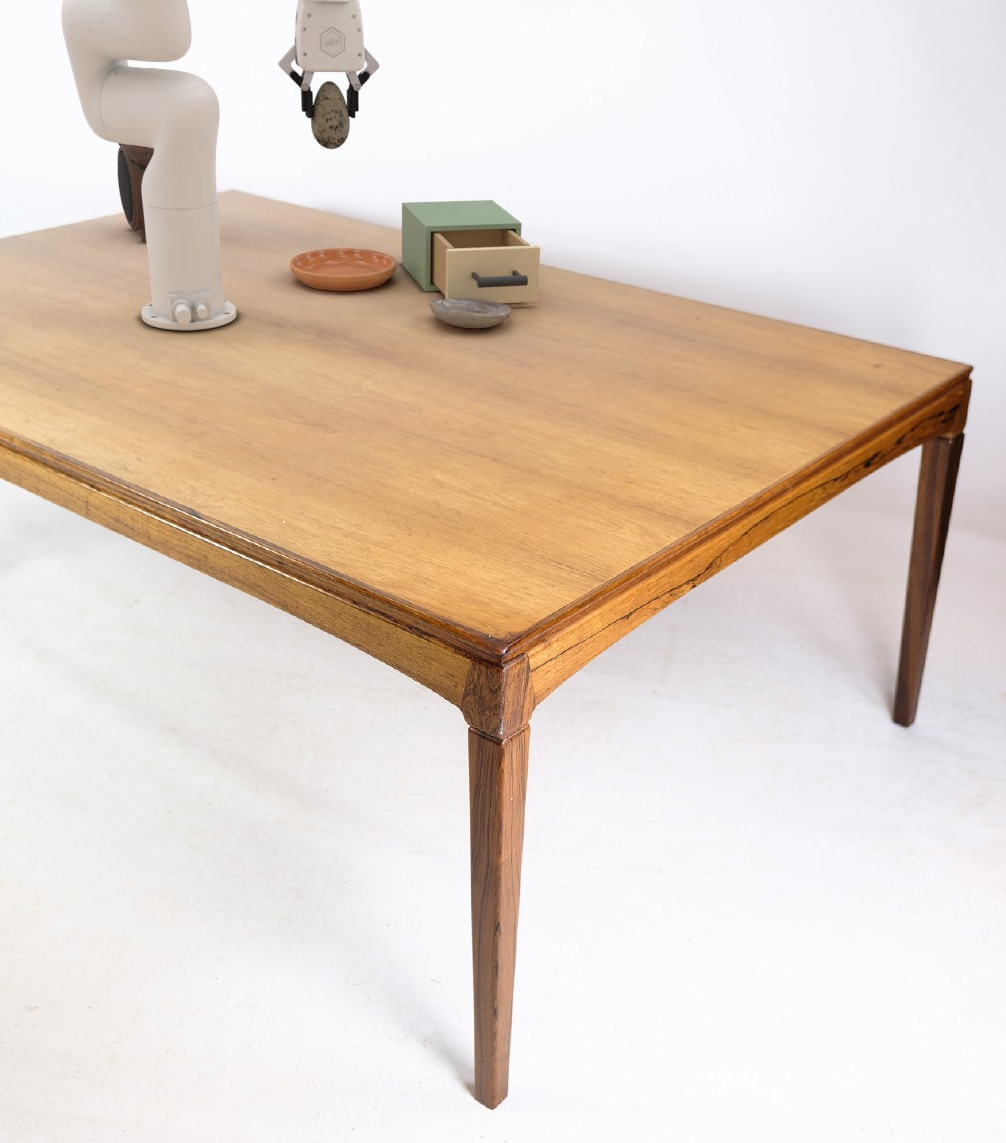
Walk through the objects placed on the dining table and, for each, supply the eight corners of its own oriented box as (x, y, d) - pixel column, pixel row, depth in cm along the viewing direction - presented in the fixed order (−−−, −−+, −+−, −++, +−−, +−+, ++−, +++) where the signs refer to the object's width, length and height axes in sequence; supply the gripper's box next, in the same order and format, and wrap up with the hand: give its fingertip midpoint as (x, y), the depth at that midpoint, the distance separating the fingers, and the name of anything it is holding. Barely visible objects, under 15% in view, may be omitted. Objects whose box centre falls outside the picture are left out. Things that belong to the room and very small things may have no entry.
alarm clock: (117, 227, 219) (104, 103, 210) (160, 224, 222) (149, 101, 212) (134, 247, 207) (121, 117, 198) (179, 244, 210) (168, 115, 201)
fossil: (472, 313, 185) (473, 293, 184) (523, 330, 177) (525, 310, 176) (412, 318, 179) (413, 298, 178) (463, 336, 171) (465, 315, 170)
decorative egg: (357, 149, 203) (357, 82, 198) (330, 153, 198) (329, 84, 194) (330, 144, 206) (329, 77, 201) (303, 148, 202) (301, 80, 197)
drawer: (548, 311, 181) (551, 256, 178) (456, 316, 178) (457, 260, 174) (508, 274, 198) (510, 223, 194) (423, 278, 194) (423, 226, 190)
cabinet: (519, 287, 195) (521, 223, 191) (425, 291, 191) (425, 226, 187) (490, 260, 208) (492, 200, 204) (401, 264, 204) (401, 202, 200)
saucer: (281, 292, 188) (280, 272, 187) (300, 264, 202) (299, 245, 201) (391, 297, 188) (391, 277, 186) (402, 269, 202) (401, 249, 201)
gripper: (273, -10, 186) (278, 121, 194) (390, -8, 191) (390, 120, 199) (265, -14, 192) (270, 113, 200) (378, -11, 197) (379, 113, 205)
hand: (330, 115), depth 200 cm, fingers closed on decorative egg, 5 cm apart
